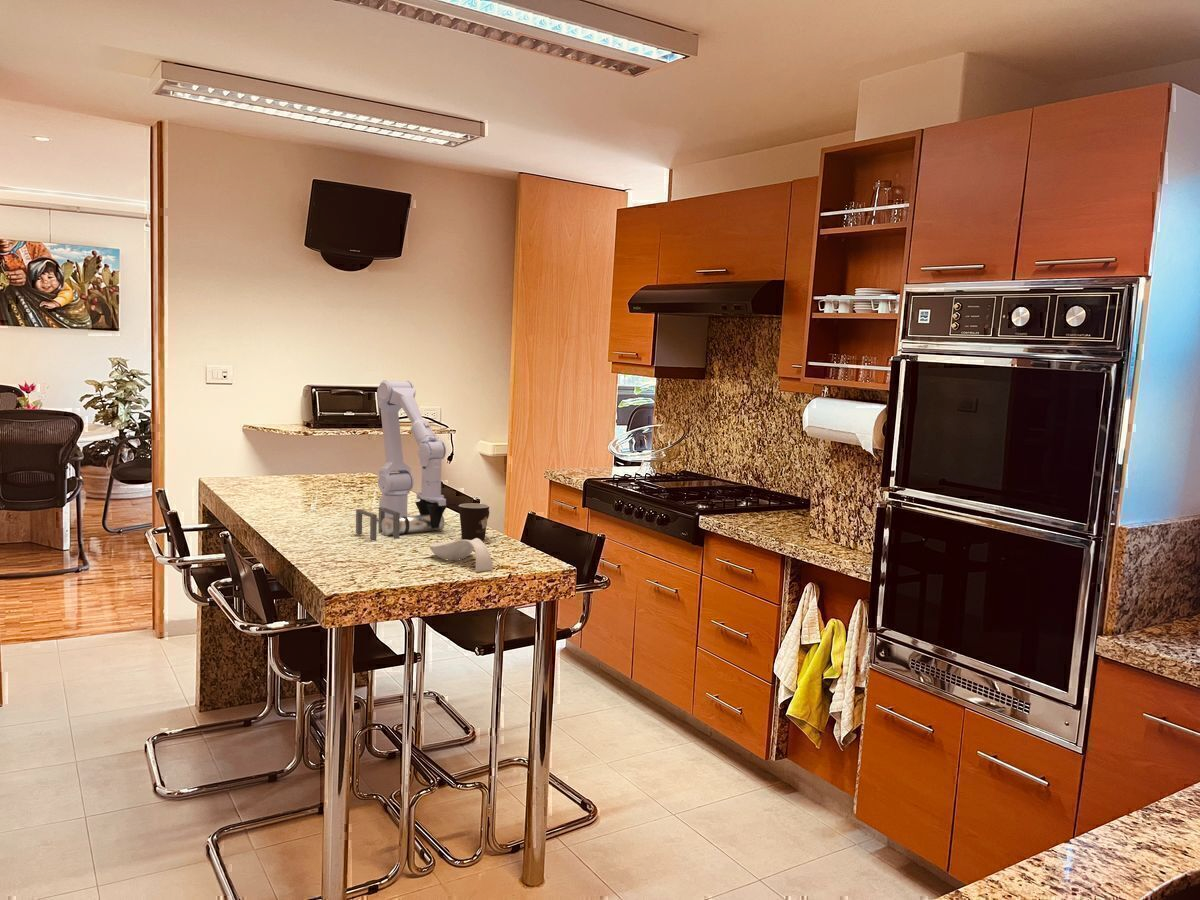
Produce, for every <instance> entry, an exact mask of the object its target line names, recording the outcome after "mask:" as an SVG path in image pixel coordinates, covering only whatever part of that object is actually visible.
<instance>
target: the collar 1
mask: <svg viewBox="0 0 1200 900" xmlns="http://www.w3.org/2000/svg"><path fill="white" fill-rule="evenodd" d="M363 516H367V517H369V518H370V520H369V523H370V525H369V527H370V528H369V532H370V533H369V540H370V539H371V540H376V541H377V531H378V530H377V526H378V525H377V523H378V522H377V521H378V520H377V518H378V514H377V513H372V512H370V511H367V510H364V509H362V508H356V509H355V534H356V533H357V534H362V535H363ZM357 534H356V535H357ZM371 540H370V541H371Z"/></svg>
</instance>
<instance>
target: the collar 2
mask: <svg viewBox="0 0 1200 900" xmlns="http://www.w3.org/2000/svg"><path fill="white" fill-rule="evenodd" d="M385 512H386V513H388V514H391V515H393V535H392V538H393V537H394V538H393V539H395V538H396V539H400V534H399V525H400V513H399V512H396V511H393V510H389V509H386V508H383V507H379V506H378V518H379V521H378V530H377V531H378V533H380V532H382V528H381V523H382V520H383V519H384V518H385Z"/></svg>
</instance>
